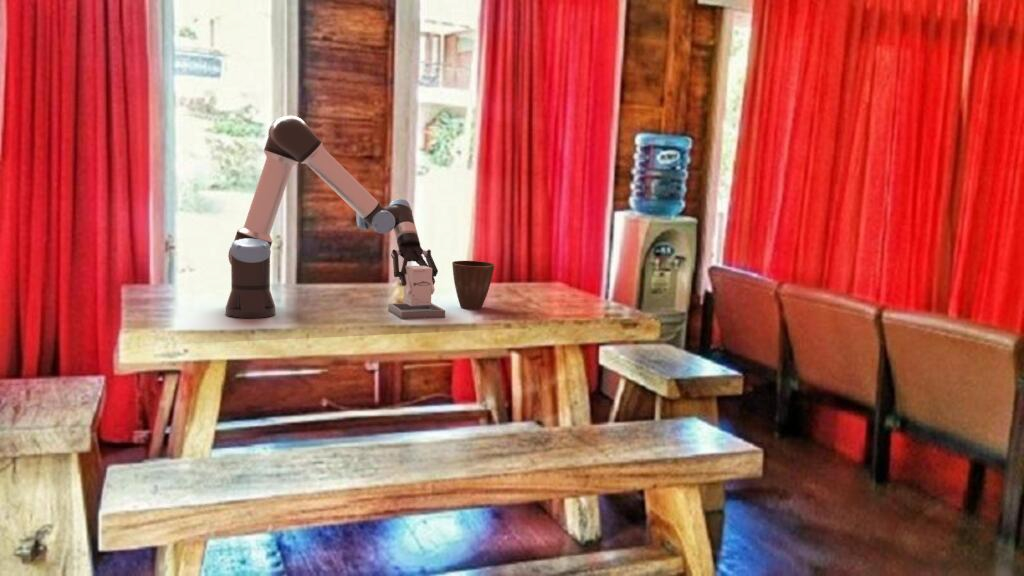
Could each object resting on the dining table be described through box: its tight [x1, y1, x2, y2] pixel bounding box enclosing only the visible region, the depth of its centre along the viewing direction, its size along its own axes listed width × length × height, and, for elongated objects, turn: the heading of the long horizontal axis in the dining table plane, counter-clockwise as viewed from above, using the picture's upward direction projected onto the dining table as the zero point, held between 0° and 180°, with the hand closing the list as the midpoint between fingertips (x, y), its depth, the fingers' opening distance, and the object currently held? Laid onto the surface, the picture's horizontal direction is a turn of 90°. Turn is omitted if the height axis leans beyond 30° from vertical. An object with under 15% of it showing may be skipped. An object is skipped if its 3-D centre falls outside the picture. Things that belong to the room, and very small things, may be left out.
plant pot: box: [451, 260, 495, 311], centre depth 285 cm, size 15×15×16 cm
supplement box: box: [403, 265, 432, 306], centre depth 268 cm, size 7×7×13 cm
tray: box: [387, 302, 446, 320], centre depth 270 cm, size 15×15×2 cm
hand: (421, 292), depth 266 cm, fingers closed on supplement box, 7 cm apart
